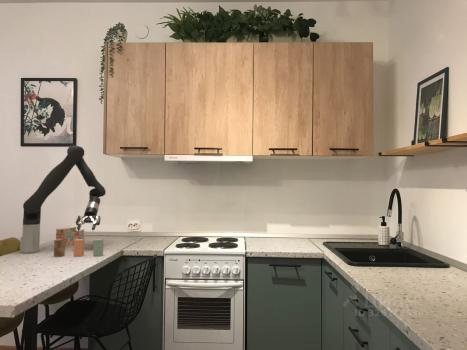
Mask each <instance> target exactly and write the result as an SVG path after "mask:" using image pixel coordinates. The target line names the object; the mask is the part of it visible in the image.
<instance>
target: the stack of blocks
mask: <svg viewBox="0 0 467 350" xmlns="http://www.w3.org/2000/svg"><path fill="white" fill-rule="evenodd" d="M55 231H56V233H55V240H57V239H65V248H66V247H69V246H74V240H76V239H84V240H85V229H82V228H80V230H78V229H77V226H66V227H60V228H56V229H55Z"/></svg>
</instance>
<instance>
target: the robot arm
mask: <svg viewBox="0 0 467 350" xmlns="http://www.w3.org/2000/svg"><path fill="white" fill-rule="evenodd" d="M66 153H67V154H66V156H65V157H64V159H63V160H62V161H61V162H60V163H58V164H57V165H55V167H53V168H52V169H51V171H49V173H47V175H46V176H45V177H44V179H43V180H42V181H41V183H40V184H39V186H38V188H37V189H36V190H35V191H34V193H33V194H32V195H31V196H30V197H28V199H26V200H25V201H24V202H23V204H22V208H23V217H22V235H21V237H20V245H19V247H20V249H19V250H20V251H19V253H20V254H21V253H22V254H32V253H33V254H34V253H37V252H39V251H40V238H41V237H40V236H41V215H42V206H43V204H44V203H45V202H46V200H47V199H48V197H49V196H50V195H51V194H52V193H53V192H54V191H55V190H56V189H57V188H58V187H59V186H60V185H61V184H62V183H63V182H64V180H65V179H66V177H67V176H68V175H69V173H70V172H71V170H72V169H73V168H74V167H75V166H76V168H77V169H78V171H79V172H80V174H81V176H82V179H83V180H84V182H85V184H86V185H87V187H88V188H90V187H91V188H92V189H90V190H89V201H88V202H87V205H86V208H85V209H84V210H85V211H84V214H83V216H81V215H78V216H77V217H76V219H75V220H76V221H75V225H76V229H78V230H80V229H82V225H84V224H92V227H91V231H95V229H96V227H97V226H100V224H101V220H102V218H101V216H100V215H98V212H99V210H100V209H99V208H100V204H101V197H104V196H105V195H106V192H107V191H106V188H105V187H104V186H103V185H102V184H101V183H100V182H99V181H98V179H97V177H96V175H95V174H94V172H93V171H92V169H91V168H90V167H89V166H88V164H87V162H86V161H85V158H84V156H85V149H84V148H83V147H82V146H79V145H70V146H69V147H68V148H67V149H66ZM97 215H98V216H97ZM96 220H97V221H96Z"/></svg>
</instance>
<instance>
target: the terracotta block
mask: <svg viewBox="0 0 467 350" xmlns="http://www.w3.org/2000/svg"><path fill="white" fill-rule="evenodd" d="M84 255H85V238H84V239H76V240H74V245H73V258H76V257H78V258H79V257H83V256H84Z"/></svg>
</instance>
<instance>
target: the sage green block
mask: <svg viewBox="0 0 467 350" xmlns="http://www.w3.org/2000/svg"><path fill="white" fill-rule="evenodd" d="M92 249H93V251H92V253H93V254H92V256H93V257H102V256H104V238H95V239H93V248H92Z"/></svg>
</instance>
